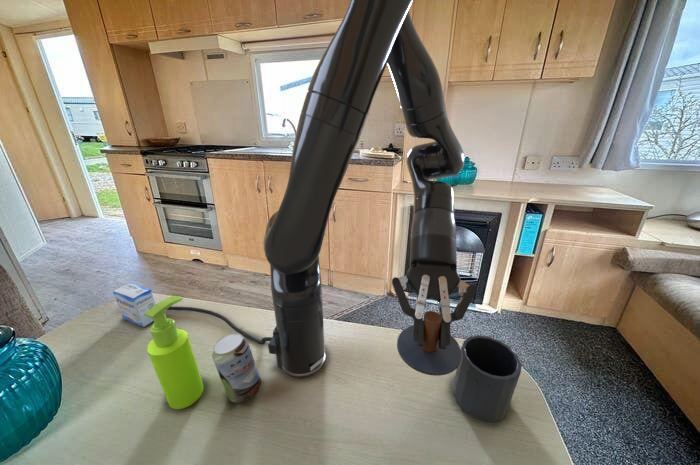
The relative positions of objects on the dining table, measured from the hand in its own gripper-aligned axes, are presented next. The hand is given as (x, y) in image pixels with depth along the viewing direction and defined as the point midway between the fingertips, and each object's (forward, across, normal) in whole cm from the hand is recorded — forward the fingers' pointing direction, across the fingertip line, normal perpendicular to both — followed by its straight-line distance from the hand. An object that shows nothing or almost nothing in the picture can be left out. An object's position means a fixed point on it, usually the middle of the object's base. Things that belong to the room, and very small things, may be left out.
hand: (431, 346), depth 42 cm
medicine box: (+2, -69, +20) cm, 72 cm away
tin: (+8, +11, +15) cm, 20 cm away
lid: (0, 0, +3) cm, 3 cm away
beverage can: (+12, -33, +11) cm, 37 cm away
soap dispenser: (+14, -43, +9) cm, 46 cm away
